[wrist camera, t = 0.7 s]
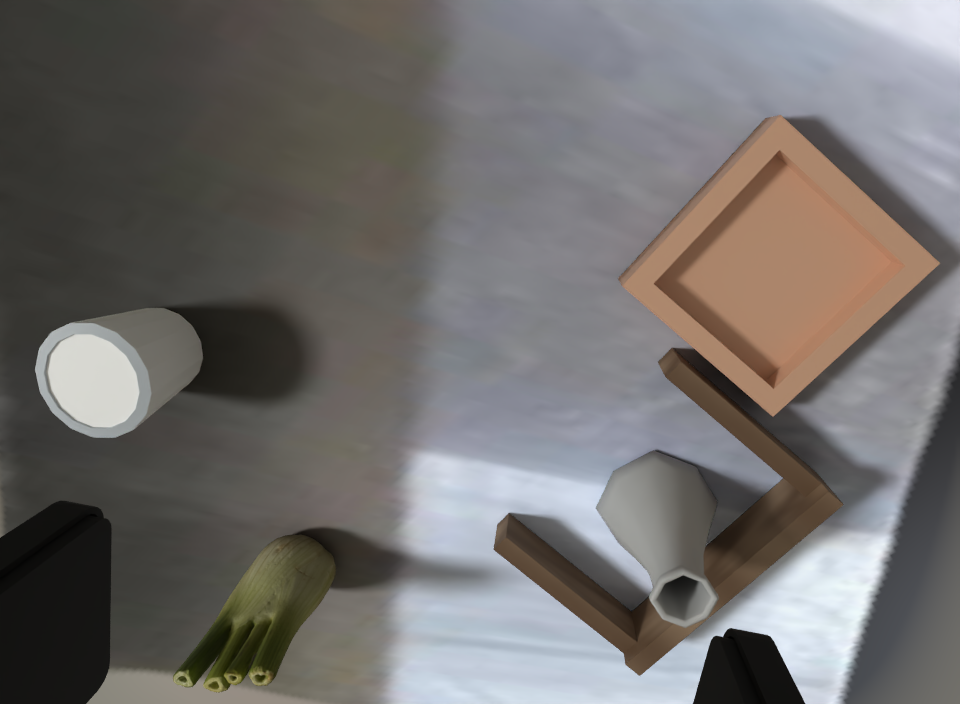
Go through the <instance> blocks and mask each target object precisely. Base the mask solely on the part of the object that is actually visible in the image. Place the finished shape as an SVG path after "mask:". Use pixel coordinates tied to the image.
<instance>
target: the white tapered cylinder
mask: <svg viewBox="0 0 960 704" xmlns="http://www.w3.org/2000/svg"><path fill="white" fill-rule="evenodd" d="M202 360H203V353H202V346H201V341H200V339H199V337H198V335H197V333H196V331H195V330H194V328H193V326H192V325H191V324H190V323H189V322H188V321H186V320H185V319H184V318H183V317H182V316H181V315H180V314H177V313H175V312H173V311H170V310H168V309H165V308H145V309H140V310H135V311H130V312H125V313H120V314H114V315H109V316H104V317H99V318H94V319H89V320H84V321H78V322H73V323H70V324H67V325H65V326H63V327H61V328H59V329H57V330H55V331H53V332H51V333H50V335H49V336H48V337H47V339H46V340H45V341H44V343H43V344H42V345H41V347H40V348H39V352H38V358H37V363H36V368H35V371H36V376H37V380H38V385H39V390H40V393H41V395H42V396H43V398H44V400H45V401H46V403H47V404H48V406H49V408H50V409H51V411H52V413H53V414H55V415H56V416H57V417H58V418H59V419H60V420H62V421H63V422H64V423H65V424H66V425H68V426H69V427H70V428H71V429H73V430H76V431H78V432H81V433H83V434H86V435H88V436H91V437H104V438H115V437H117V436H120V435H122V434H125V433H127V432H129V431H132V430H134V429H135V428H136V427H137V426H139V425H140V424H141V423H142V422H143V421H145V420H146V419H147V418H148V417H149V416H151V415H152V414H153V413H154V412H155V411H157V410H158V409H159V408H160V407H162V406H163V405H164V404H165V403H166V402H168V401H169V400H170V399H171V398H172V397H174V396H175V395H176V394H177V393H178V392H180V391H181V390H182V389H183V388H184V387H186V386H187V385H188V384H189V383H190V382H191V381H192V380H193V379H194V378H195V376H196V375H197V374H198V373H199V371H200V367H201V364H202Z"/></svg>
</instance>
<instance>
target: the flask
mask: <svg viewBox="0 0 960 704" xmlns="http://www.w3.org/2000/svg"><path fill="white" fill-rule="evenodd" d="M717 503H718V502H717V500H716V499H715V497H714V495H713V494H712V492H711V491H710V489H709V487H708V486H707V484H706V482H705V481H704V479H703V478H702V476H701V474H700V473H699V471H698V469H697V468H696V466H693V465H690V464H688V463H685V462H682V461H680V460H677V459H675V458H672V457H669V456H667V455H664V454H662V453H659V452H656V451H654V450H653V451H651V452H649V453H647V454H645V455H643V456H641V457H640V458H638V459H636V460H634V461H632V462H630V463H628V464H626V465H624V466H622V467H620V468H618V469H617V470H615V471H613V473H612V475H611V477H610V479H609V481H608V483H607V485H606V488H605V490H604V492H603V494H602V496H601V498H600V500H599V502H598V504H597V507H596V509H597V511H598V512H599V514H600V516H601V517H602V519H603V520H604V522H605V523H606V525H607V526H608V528H609V529H610V531H611V532H612V534H613V535H614V537H615V538H616V540H617V541H618V543H619V544H620V545H621V546H622V547H623V548H624V549H625V550H626V551H628V552H629V553H630V554H631V555H632V556H633V557H634V558H635V559H636V560H637V561H638V562H639V563H640V564H641V565H642V566H643V567H644V568H645V569H646V570H647V572H648V573H649V575H650V578H651V582H652V585H653V589H652V591H651V593H650V595H649V599H650V601H651V603H652V604H653V606H654V607H655V609H656V610H657V612H658V613H659V615H660V616H661V618H662V619H663V620H666V621H668V622H671V623H674V624H676V625H679V626H681V627H684V628H687V627H689V626H691V625H693V624H696V623H698V622H700V621H702V620H705V619H707V618H708V617H709V615H710V613H711V612H712V610H713V608H714V606H715V605H716V603H717V601H718V599H719V597H718V594H717V593H716V591H715V590H714V588H713V587H712V585H711V583H710V582H709V580H708V579H707V577H706V576H705V575H704V559H703V555H704V550H705V546H706V542H707V538H708V534H709V530H710V526H711V523H712V520H713V517H714V514H715V511H716V507H717Z"/></svg>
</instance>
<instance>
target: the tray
mask: <svg viewBox="0 0 960 704" xmlns="http://www.w3.org/2000/svg"><path fill="white" fill-rule="evenodd" d="M939 264H940V263H939V262H938V261H937V260H936V259H935V258H934V257H933V256H932V255H931V254H930V253H929V252H927V251H926V250H925V249H924V248H923V247H922V246H921V245H920V244H919V243H918V242H917V241H916V240H915V239H913V238H912V237H911V236H910V235H909V234H908V233H907V232H906V231H905V230H904V229H903V228H902V227H901V226H899V225H898V224H897V223H896V222H895V221H894V220H893V219H892V218H891V217H890V216H889V215H888V214H887V213H886V212H884V211H883V210H882V209H881V208H880V207H879V206H878V205H877V204H876V203H875V202H874V201H873V200H872V199H870V198H869V197H868V196H867V195H866V194H865V193H864V192H863V191H862V190H861V189H860V188H859V187H858V186H856V185H855V184H854V183H853V182H852V181H851V180H850V179H849V178H848V177H847V176H846V175H845V174H844V173H842V172H841V171H840V170H839V169H838V168H837V167H836V166H835V165H834V164H833V163H832V162H831V161H830V160H828V159H827V158H826V157H825V156H824V155H823V154H822V153H821V152H820V151H819V150H818V149H817V148H816V147H814V146H813V145H812V144H811V143H810V142H809V141H808V140H807V139H806V138H805V137H804V136H803V135H802V134H800V133H799V132H798V131H797V130H796V129H795V128H794V127H793V126H792V125H791V124H790V123H789V122H788V121H786V120H785V119H784V118H783V117H782V116H781V115H778V116H774V117H769V118H765V119H764V121H763V122H762V123H761V124H760V125H759V126H758V127H757V128H756V129H755V130H754V131H753V132H752V134H751V135H750V136H749V137H748V138H747V139H746V140H745V141H744V142H743V143H742V144H741V146H740V147H739V148H738V149H737V150H736V151H735V152H734V153H733V154H732V155H731V156H730V157H729V159H728V160H727V161H726V162H725V163H724V164H723V165H722V166H721V167H720V168H719V169H718V171H717V172H716V173H715V174H714V175H713V176H712V177H711V178H710V179H709V180H708V181H707V182H706V184H705V185H704V186H703V187H702V188H701V189H700V190H699V191H698V192H697V193H696V194H695V196H694V197H693V198H692V199H691V200H690V201H689V202H688V203H687V204H686V205H685V206H684V207H683V209H682V210H681V211H680V212H679V213H678V214H677V215H676V216H675V217H674V218H673V219H672V221H671V222H670V223H669V224H668V225H667V226H666V227H665V228H664V229H663V230H662V231H661V232H660V234H659V235H658V236H657V237H656V238H655V239H654V240H653V241H652V242H651V243H650V244H649V246H648V247H647V248H646V249H645V250H644V251H643V252H642V253H641V254H640V255H639V256H638V257H637V259H636V260H635V261H634V262H633V263H632V264H631V265H630V266H629V267H628V268H627V269H626V271H625V272H624V273H623V274H622V275H621V276H620V277H619V278H618V280H619V281H620V283H621V285H622V286H623V287H624V288H625V289H626V290H627V291H628V292H630V293H631V294H632V295H633V296H634V297H635V298H636V299H638V300H639V301H640V302H641V303H642V304H643V305H645V306H646V307H647V308H648V309H649V310H650V311H651V312H653V313H654V314H655V315H656V316H657V317H658V318H660V319H661V320H662V321H663V322H664V323H665V324H666V325H668V326H669V327H670V328H671V329H672V330H673V331H675V332H676V333H677V334H678V335H679V336H680V337H681V338H683V339H684V340H685V341H686V342H687V343H688V344H690V345H691V346H692V347H693V348H694V349H695V350H696V351H698V352H699V353H700V354H701V355H702V356H703V357H704V358H706V359H707V360H708V361H709V362H710V363H711V364H713V365H714V366H715V367H716V368H717V369H718V370H719V371H721V372H722V373H723V374H724V375H725V376H726V377H728V378H729V379H730V380H731V381H732V382H733V383H734V384H736V385H737V386H738V387H739V388H740V389H741V390H743V391H744V392H745V393H746V394H747V395H748V396H749V397H751V398H752V399H753V400H754V401H755V402H756V403H757V404H759V405H760V406H761V407H762V408H763V409H764V410H766V411H767V412H768V413H769V414H770V415H771V416H772V417H774V416H775V415H776V414H777V413H778V412H779V411H780V410H781V409H782V408H783V407H784V406H786V405H787V404H788V403H789V402H790V401H791V400H792V399H793V398H794V397H795V396H796V395H797V394H799V393H800V392H801V391H802V390H803V389H804V388H805V387H806V386H807V385H808V384H809V383H811V382H812V381H813V380H814V379H815V378H816V377H817V376H818V375H819V374H820V373H821V372H823V371H824V370H825V369H826V368H827V367H828V366H829V365H830V364H831V363H832V362H833V361H834V360H836V359H837V358H838V357H839V356H840V355H841V354H842V353H843V352H844V351H845V350H846V349H848V348H849V347H850V346H851V345H852V344H853V343H854V342H855V341H856V340H857V339H858V338H859V337H861V336H862V335H863V334H864V333H865V332H866V331H867V330H868V329H869V328H870V327H871V326H873V325H874V324H875V323H876V322H877V321H878V320H879V319H880V318H881V317H882V316H883V315H885V314H886V313H887V312H888V311H889V310H890V309H891V308H892V307H893V306H894V305H895V304H896V303H898V302H899V301H900V300H901V299H902V298H903V297H904V296H905V295H906V294H907V293H908V292H910V291H911V290H912V289H913V288H914V287H915V286H916V285H917V284H918V283H919V282H920V281H921V280H923V279H924V278H925V277H926V276H927V275H928V274H929V273H930V272H931V271H932V270H933V269H935V268H936V267H937V266H938V265H939Z"/></svg>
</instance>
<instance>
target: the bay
mask: <svg viewBox="0 0 960 704" xmlns="http://www.w3.org/2000/svg"><path fill="white" fill-rule="evenodd" d="M658 363H659V365H660V367H661V369H662V371H663V373H664V375H665V377H666V378H667V379H668V380H670V381H671V382H672V383H673V384H674V385H675V386H677V387H678V388H679V389H680V390H681V391H682V392H684V393H685V394H686V395H687V396H688V397H689V398H691V399H692V400H693V401H694V402H695V403H696V404H698V405H699V406H700V407H701V408H702V409H703V410H705V411H706V412H707V413H708V414H709V415H710V416H712V417H713V418H714V419H715V420H716V421H717V422H719V423H720V424H721V425H722V426H723V427H724V428H726V429H727V430H728V431H729V432H730V433H731V434H732V435H734V436H735V437H736V438H737V439H738V440H739V441H741V442H742V443H743V444H744V445H745V446H746V447H748V448H749V449H750V450H751V451H752V452H753V453H755V454H756V455H757V456H758V457H759V458H760V459H762V460H763V461H764V462H765V463H766V464H767V465H769V466H770V467H771V468H772V469H773V470H774V471H776V472H777V473H778V474H779V475H780V476H781V477H783V479H782V480H781V481H780V482H779V483H778V484H776V485H775V486H774V487H773V488H772V489H771V490H770V491H768V492H767V493H766V494H765V495H764V496H763V497H762V498H761V499H759V500H758V501H757V502H756V503H755V504H754V505H753V506H751V507H750V508H749V509H748V510H747V511H746V512H745V513H743V514H742V515H741V516H740V517H739V518H738V519H737V520H736V521H734V522H733V523H732V524H731V525H730V526H729V527H728V528H726V529H725V530H724V531H723V532H722V533H721V534H720V535H719V536H717V537H716V538H715V539H714V540H713V541H712V542H711V543H709V544H708V545H707V546H706V547H705V550H704V555H703V559H704V575H705V576H706V577H707V579H708V580H709V582H710V583H711V585H712V587H713V588H714V590H715V591H716V593H717V594H718V597H719V599H718V601H717V603H716V605H715V606H714V608H713V610H712V612H711V613H710V615H709V617H711V616H712V615H713V614H714V613H715V612H716V611H718V610H719V609H720V608H721V607H722V606H724V605H725V604H726V603H727V602H728V601H730V600H731V599H732V598H733V597H734V596H736V595H737V594H738V593H739V592H740V591H742V590H743V589H744V588H745V587H746V586H747V585H749V584H750V583H751V582H752V581H753V580H755V579H756V578H757V577H758V576H759V575H761V574H762V573H763V572H764V571H765V570H767V569H768V568H769V567H770V566H771V565H772V564H774V563H775V562H776V561H777V560H778V559H780V558H781V557H782V556H783V555H784V554H786V553H787V552H788V551H789V550H790V549H792V548H793V547H794V546H795V545H796V544H798V543H799V542H800V541H801V540H802V539H803V538H805V537H806V536H807V535H808V534H809V533H811V532H812V531H813V530H814V529H815V528H817V527H818V526H819V525H820V524H821V523H823V522H824V521H825V520H826V519H827V518H828V517H830V516H831V515H832V514H833V513H834V512H836V511H837V510H838V509H839V508H840V507H842V506H843V505H844V504H843V503H842V502H841V501H840V500H839V499H838V497H837V496H836V495H835V494H834V493H833V492H832V490H831V489H830V488H829V487H828V486H827V485H826V483H825V482H824V481H823V480H822V479H821V477H820V476H819V475H818V474H817V473H816V472H815V471H814V470H813V469H811V468H810V467H809V466H808V465H807V464H806V463H804V462H803V461H802V460H801V459H800V458H799V457H798V456H796V455H795V454H794V453H793V452H792V451H791V450H789V449H788V448H787V447H786V446H785V445H784V444H782V443H781V442H780V441H779V440H778V439H777V438H776V437H774V436H773V435H772V434H771V433H770V432H769V431H767V430H766V429H765V428H764V427H763V426H762V425H761V424H759V423H758V422H757V421H756V420H755V419H754V418H752V417H751V416H750V415H749V414H748V413H747V412H745V411H744V410H743V409H742V408H741V407H740V406H739V405H737V404H736V403H735V402H734V401H733V400H732V399H730V398H729V397H728V396H727V395H726V394H725V393H723V392H722V391H721V390H720V389H719V388H718V387H717V386H715V385H714V384H713V383H712V382H711V381H710V380H708V379H707V378H706V377H705V376H704V375H703V374H702V373H700V372H699V371H698V370H697V369H696V368H695V367H693V366H692V365H691V364H690V363H689V362H688V361H686V360H685V359H684V358H683V357H682V356H681V355H680V354H678V353H677V352H676V351H675V350H674V349H673V348H671V349H670V350H669V351H668V352H667V353H666V354H665V356H664V357H663V358H662V359H661V360H660V361H659V362H658ZM494 550H495V551H496V552H497V553H499V554H500V555H501V556H502V557H504V558H505V559H506V560H507V561H509V562H510V563H511V564H512V565H514V566H515V567H516V568H517V569H519V570H520V571H521V572H522V573H524V574H525V575H526V576H527V577H529V578H530V579H531V580H532V581H534V582H535V583H536V584H537V585H539V586H540V587H541V588H542V589H544V590H545V591H546V592H547V593H549V594H550V595H551V596H553V597H554V598H555V599H556V600H558V601H559V602H560V603H561V604H563V605H564V606H565V607H566V608H568V609H569V610H570V611H571V612H573V613H574V614H575V615H576V616H578V617H579V618H580V619H581V620H583V621H584V622H585V623H586V624H588V625H589V626H590V627H591V628H593V629H594V630H595V631H596V632H598V633H599V634H600V635H601V636H603V637H604V638H605V639H606V640H608V641H609V642H610V643H611V644H613V645H614V646H615V647H616V648H618V649H619V650H620V651H621V652H623V653H624V657H625V664H626V665H627V666H628V667H629V668H630V669H632V670H633V671H634V672H635V673H637V674H638V675H639V676H640V675H641V674H643V673H644V672H645V671H646V670H647V669H649V668H650V667H651V666H652V665H653V664H655V663H656V662H657V661H658V660H659V659H660V658H662V657H663V656H664V655H665V654H666V653H668V652H669V651H670V650H671V649H672V648H674V647H675V646H676V645H677V644H678V643H680V642H681V641H682V640H683V639H684V638H685V637H687V636H688V635H689V634H690V633H691V632H693V631H694V630H695V629H696V628H697V627H699V626H700V625H701V624H702V623H703V622H705V621H706V620H707V619H708V618H709V617H708V618H707V619H705V620H702V621H700V622H698V623H696V624H693V625H691V626H689V627H687V628H684V627H681V626H679V625H676V624H674V623H671V622H668V621H666V620H663V619H662V618H661V616H660V615H659V613H658V612H657V610H656V609H655V607H654V606H653V604H652V603H651V601H650V599H649V597H648V598H647V599H646V600H645V601H644V602H642V603H641V604H640V605H639V606H638V607H637V608H636V609H635V610H633V611H632V612H631V611H630V610H629V609H627V608H626V607H625V606H624V605H622V604H621V603H620V602H619V601H617V600H616V599H615V598H614V597H613V596H611V595H610V594H609V593H608V592H606V591H605V590H604V589H603V588H601V587H600V586H599V585H598V584H596V583H595V582H594V581H593V580H591V579H590V578H589V577H588V576H586V575H585V574H584V573H583V572H582V571H580V570H579V569H578V568H577V567H575V566H574V565H573V564H572V563H570V562H569V561H568V560H567V559H565V558H564V557H563V556H562V555H560V554H559V553H558V552H557V551H555V550H554V549H553V548H552V547H551V546H549V545H548V544H547V543H546V542H544V541H543V540H542V539H541V538H539V537H538V536H537V535H536V534H534V533H533V532H532V531H531V530H529V529H528V528H527V527H526V526H525V525H523V524H522V523H521V522H520V521H518V520H517V519H516V518H515V517H513V516H512V515H511V514H510V513H509V514H508V515H507V516H506V517H505V518H504V519H503V520H502V521H501V522H500V523H499V524H498V525H497V531H496V537H495V544H494Z"/></svg>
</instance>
